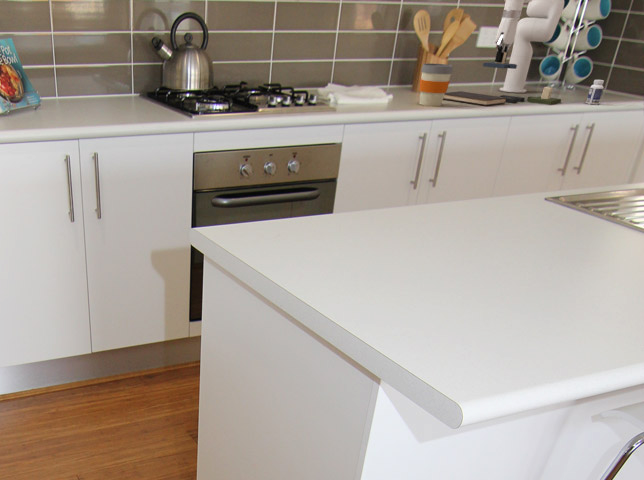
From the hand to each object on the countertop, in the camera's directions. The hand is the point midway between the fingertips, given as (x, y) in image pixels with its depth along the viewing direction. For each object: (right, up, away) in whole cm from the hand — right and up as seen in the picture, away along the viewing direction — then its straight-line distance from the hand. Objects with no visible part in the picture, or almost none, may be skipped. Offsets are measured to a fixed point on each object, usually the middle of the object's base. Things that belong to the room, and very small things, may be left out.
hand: (500, 61), depth 331 cm
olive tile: (+18, -19, -1) cm, 27 cm away
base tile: (+2, -19, -3) cm, 20 cm away
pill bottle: (+42, -20, -1) cm, 46 cm away
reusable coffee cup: (-39, -30, -22) cm, 54 cm away
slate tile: (+1, -2, 0) cm, 3 cm away
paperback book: (-16, -23, -9) cm, 29 cm away
